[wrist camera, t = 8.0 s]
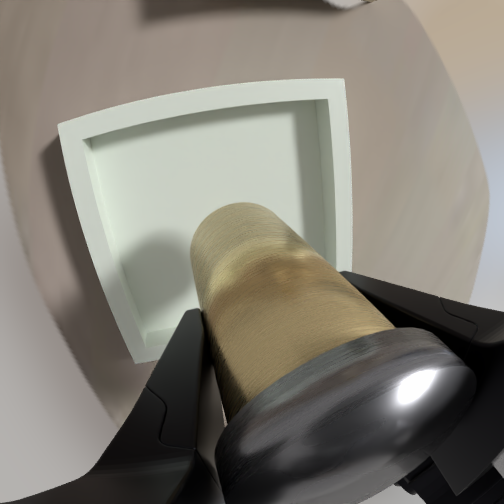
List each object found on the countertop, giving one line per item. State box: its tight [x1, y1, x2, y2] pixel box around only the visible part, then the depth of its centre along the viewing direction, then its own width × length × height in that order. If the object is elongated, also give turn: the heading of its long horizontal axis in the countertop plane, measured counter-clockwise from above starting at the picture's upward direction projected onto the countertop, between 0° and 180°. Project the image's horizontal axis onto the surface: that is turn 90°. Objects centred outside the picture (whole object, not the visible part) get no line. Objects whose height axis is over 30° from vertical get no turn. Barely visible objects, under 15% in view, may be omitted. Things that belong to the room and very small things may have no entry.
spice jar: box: [190, 202, 477, 504], centre depth 8 cm, size 5×5×10 cm
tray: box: [57, 79, 352, 364], centre depth 15 cm, size 13×13×2 cm
